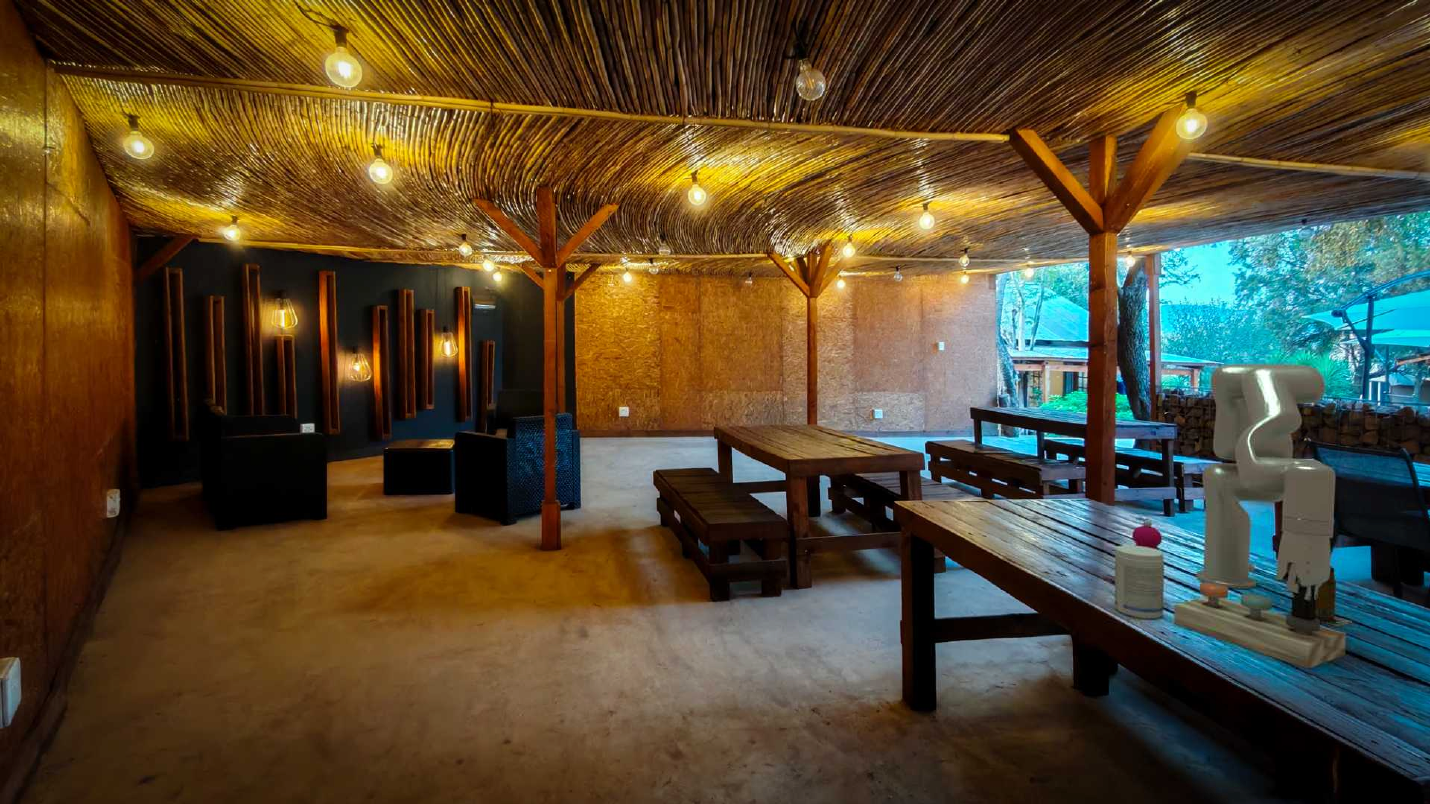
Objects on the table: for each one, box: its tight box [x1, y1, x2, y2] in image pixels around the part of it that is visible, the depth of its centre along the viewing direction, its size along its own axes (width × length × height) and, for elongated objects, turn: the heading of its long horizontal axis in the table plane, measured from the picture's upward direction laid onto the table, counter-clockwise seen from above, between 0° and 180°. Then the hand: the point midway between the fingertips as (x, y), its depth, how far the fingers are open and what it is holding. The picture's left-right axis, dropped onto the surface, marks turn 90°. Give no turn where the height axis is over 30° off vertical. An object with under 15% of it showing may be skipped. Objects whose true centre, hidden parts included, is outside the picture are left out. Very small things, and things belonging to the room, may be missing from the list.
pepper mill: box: [1132, 519, 1163, 551], centre depth 160 cm, size 7×7×20 cm
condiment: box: [1314, 565, 1353, 627], centre depth 149 cm, size 7×8×12 cm
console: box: [1173, 596, 1347, 670], centre depth 138 cm, size 14×24×4 cm, turn 25°
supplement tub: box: [1114, 545, 1165, 619], centre depth 153 cm, size 10×10×15 cm
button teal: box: [1240, 593, 1273, 621], centre depth 138 cm, size 5×5×5 cm
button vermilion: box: [1199, 582, 1229, 609], centre depth 145 cm, size 5×5×5 cm
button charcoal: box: [1285, 612, 1321, 636], centre depth 131 cm, size 5×5×5 cm
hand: (1303, 617), depth 130 cm, fingers closed
